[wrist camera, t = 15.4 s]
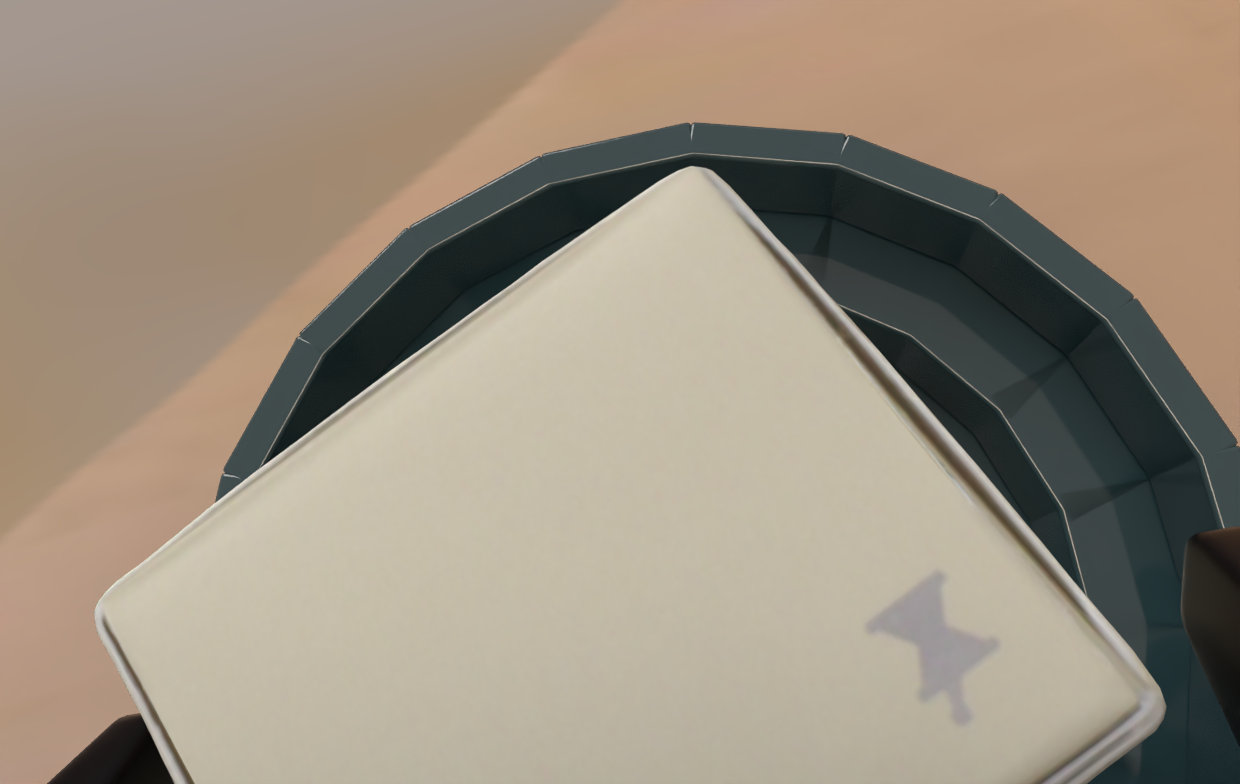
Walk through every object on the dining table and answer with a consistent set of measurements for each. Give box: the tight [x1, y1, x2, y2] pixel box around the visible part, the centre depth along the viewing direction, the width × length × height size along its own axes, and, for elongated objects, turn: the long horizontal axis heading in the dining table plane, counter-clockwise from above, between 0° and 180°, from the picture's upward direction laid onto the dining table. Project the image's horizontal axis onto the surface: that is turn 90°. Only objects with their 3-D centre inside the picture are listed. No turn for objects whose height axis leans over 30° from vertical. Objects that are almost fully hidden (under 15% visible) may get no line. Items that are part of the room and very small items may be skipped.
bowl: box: [215, 123, 1240, 784], centre depth 17 cm, size 15×15×4 cm
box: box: [94, 166, 1167, 784], centre depth 12 cm, size 5×4×13 cm
